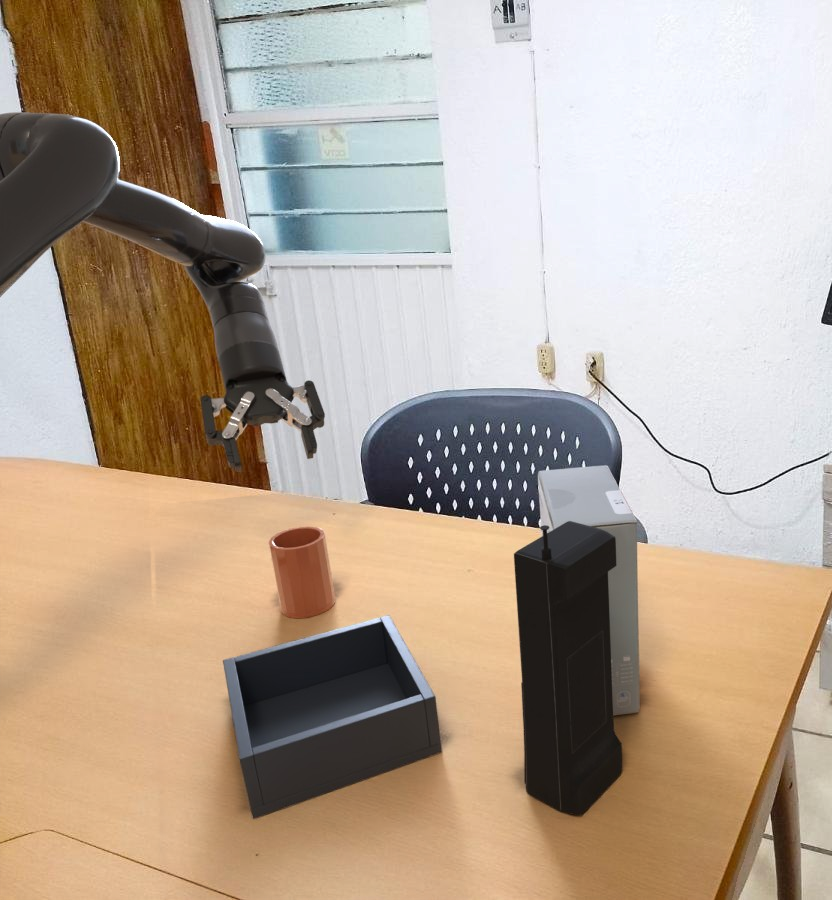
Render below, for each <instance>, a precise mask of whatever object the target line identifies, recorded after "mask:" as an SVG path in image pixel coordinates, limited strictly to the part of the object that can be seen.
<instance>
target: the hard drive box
mask: <svg viewBox="0 0 832 900" xmlns="http://www.w3.org/2000/svg"><path fill="white" fill-rule="evenodd" d="M537 482H538V483H537V485H538V499H539V501H538V502H539V514H540V515H539V517H540V527H541V526H544V525H547V526H549V529H548V530H547V533H549V532H550V531H552V530H554V529H556V528H557V527H559V526H561V525H562V524H564V523H566V522H568V521H573V522H576V523H580V524H584V525H588V526H591V527H595V528H599V529H602V530H604V531H606V532H608V533H610V534H611V535H613V536H614V537H615V539H616V565H617V566H615V567H614V568H613V569H611V570H610V571H608V587H609V615H610V642H611V670H612V698H613V717H614V716H620V715H628V714H634V713H635V714H636V713H639V712H640V709H641V707H640V706H641V705H640V704H641V703H640V702H641V701H640V700H641V699H640V698H641V696H640V691H641V690H640V639H639V637H640V636H639V635H640V633H639V589H638V588H639V587H638V586H639V583H638V581H639V580H638V579H639V578H638V575H639V574H638V573H639V572H638V520H637V518H636V517H635V515H634V512H633V511H632V509H631V507H630V505H629V502H628V501H627V500H626V497H625V496H624V494H623V492H622V491H621V488H620V487H619V485H618V483H617V481H616V479H615V477H614V475H613V474H612V472H611V470H610V467H609V466H608V465H592V466H579V467H569V468H568V467H567V468H557V469H545V470H539V471H538V473H537ZM540 532H541V533H540V534H541V535H540V536H541V537H542V536H543V530H541V529H540Z"/></svg>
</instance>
